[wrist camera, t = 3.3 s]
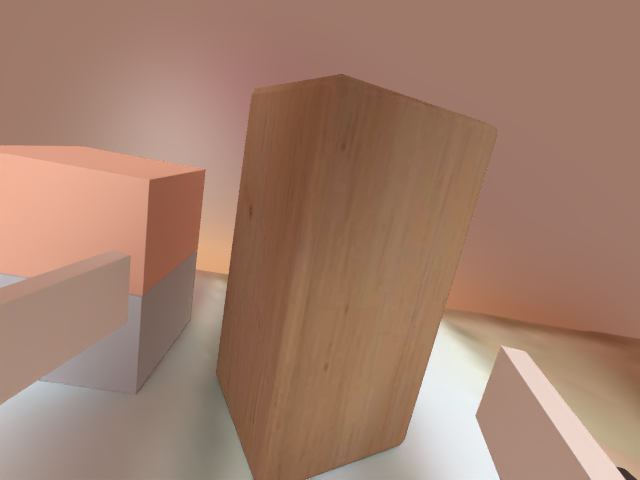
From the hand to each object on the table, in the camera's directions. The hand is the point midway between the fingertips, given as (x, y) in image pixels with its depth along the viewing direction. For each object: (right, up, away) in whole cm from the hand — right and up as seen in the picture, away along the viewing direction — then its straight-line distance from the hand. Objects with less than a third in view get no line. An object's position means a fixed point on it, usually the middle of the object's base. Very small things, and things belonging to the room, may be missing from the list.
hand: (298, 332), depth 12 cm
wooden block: (0, -9, +12) cm, 15 cm away
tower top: (-15, +2, +13) cm, 20 cm away
